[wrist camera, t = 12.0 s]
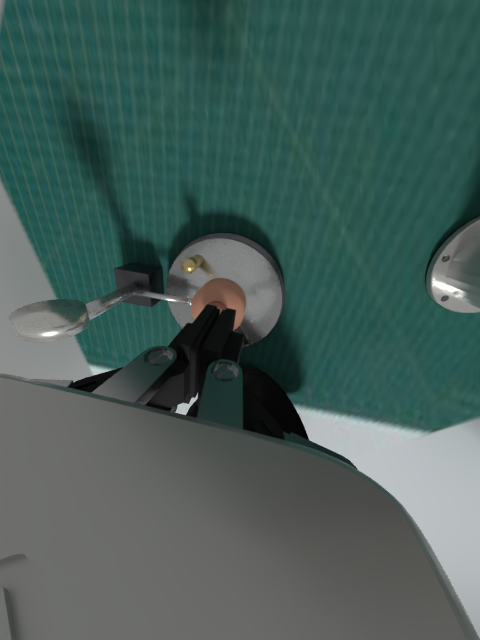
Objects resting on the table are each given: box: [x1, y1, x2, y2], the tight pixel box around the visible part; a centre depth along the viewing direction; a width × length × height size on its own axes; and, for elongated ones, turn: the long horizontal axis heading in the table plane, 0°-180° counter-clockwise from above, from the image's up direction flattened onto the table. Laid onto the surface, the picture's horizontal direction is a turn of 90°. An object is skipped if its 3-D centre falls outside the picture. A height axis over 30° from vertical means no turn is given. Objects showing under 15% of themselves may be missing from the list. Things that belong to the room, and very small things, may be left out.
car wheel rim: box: [186, 369, 309, 440], centre depth 31 cm, size 20×10×20 cm, turn 44°
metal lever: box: [9, 263, 192, 342], centre depth 24 cm, size 12×5×18 cm, turn 82°
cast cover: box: [191, 278, 246, 331], centre depth 26 cm, size 7×7×5 cm
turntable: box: [166, 237, 282, 348], centre depth 27 cm, size 17×17×6 cm
